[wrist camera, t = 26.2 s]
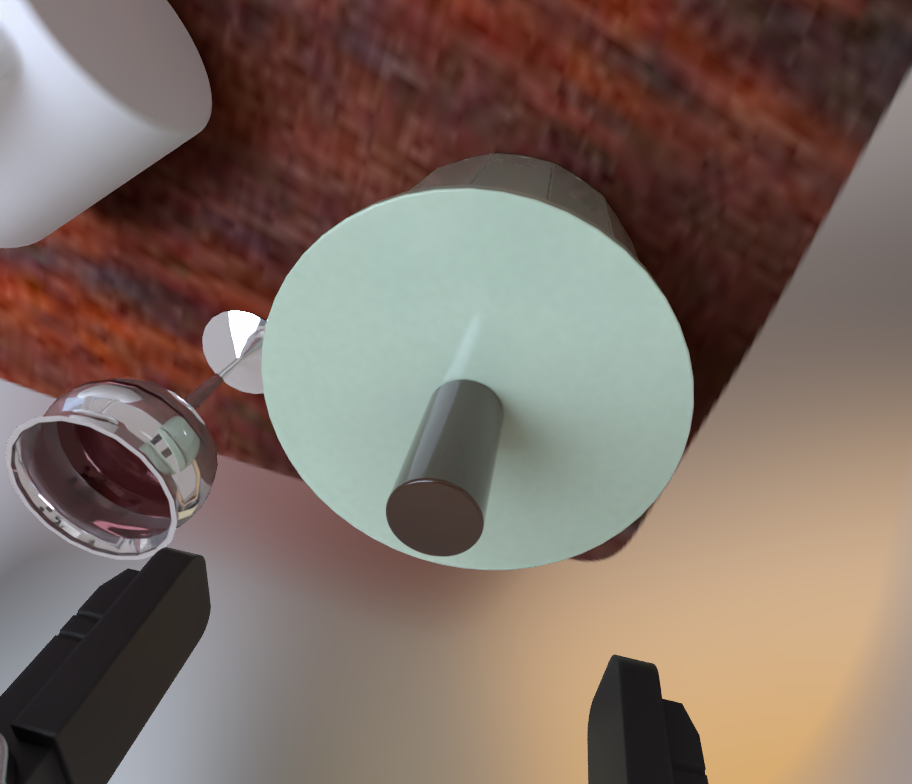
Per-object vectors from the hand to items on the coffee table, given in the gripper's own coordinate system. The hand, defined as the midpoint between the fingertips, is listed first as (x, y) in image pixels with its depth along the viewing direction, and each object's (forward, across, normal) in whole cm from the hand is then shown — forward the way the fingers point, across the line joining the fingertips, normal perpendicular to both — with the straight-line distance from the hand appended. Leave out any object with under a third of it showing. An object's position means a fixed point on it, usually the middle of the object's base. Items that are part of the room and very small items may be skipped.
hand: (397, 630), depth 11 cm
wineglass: (+19, +13, +6) cm, 24 cm away
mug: (+19, +19, -6) cm, 28 cm away
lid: (+9, 0, 0) cm, 9 cm away
